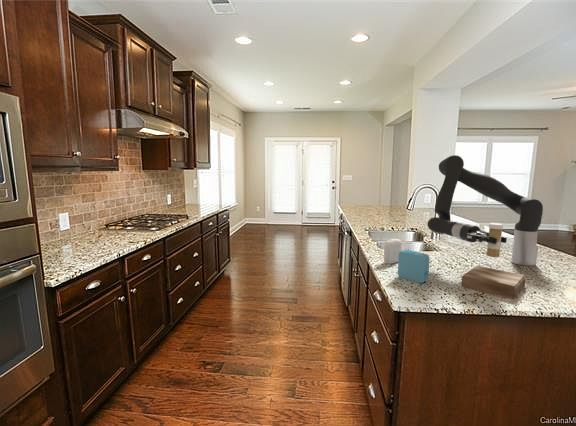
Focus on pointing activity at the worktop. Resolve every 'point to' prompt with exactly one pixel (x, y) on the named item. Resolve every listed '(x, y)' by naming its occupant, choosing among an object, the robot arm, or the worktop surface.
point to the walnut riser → (494, 281)
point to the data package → (413, 266)
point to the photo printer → (392, 250)
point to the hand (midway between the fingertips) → (501, 240)
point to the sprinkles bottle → (494, 232)
